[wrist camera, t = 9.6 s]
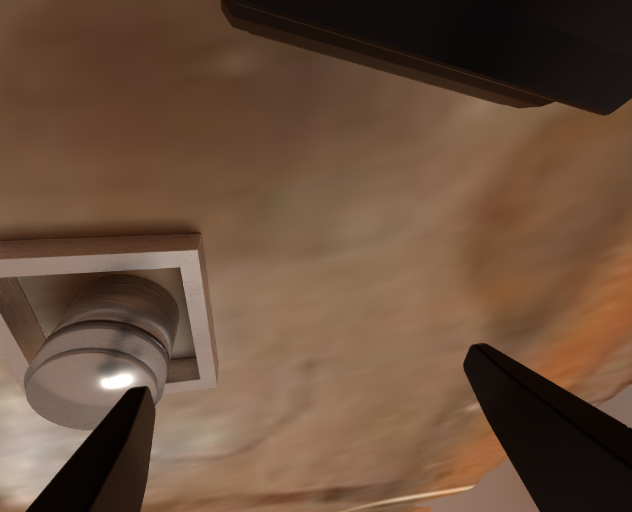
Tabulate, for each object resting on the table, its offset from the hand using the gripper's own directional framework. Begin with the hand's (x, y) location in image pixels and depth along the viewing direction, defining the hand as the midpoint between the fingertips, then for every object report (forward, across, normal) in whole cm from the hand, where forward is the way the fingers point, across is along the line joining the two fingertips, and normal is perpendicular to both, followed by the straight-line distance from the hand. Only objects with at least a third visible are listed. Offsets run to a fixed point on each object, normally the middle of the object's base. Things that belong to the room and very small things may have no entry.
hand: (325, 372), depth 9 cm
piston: (+12, +10, +7) cm, 17 cm away
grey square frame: (+12, +10, +7) cm, 17 cm away
